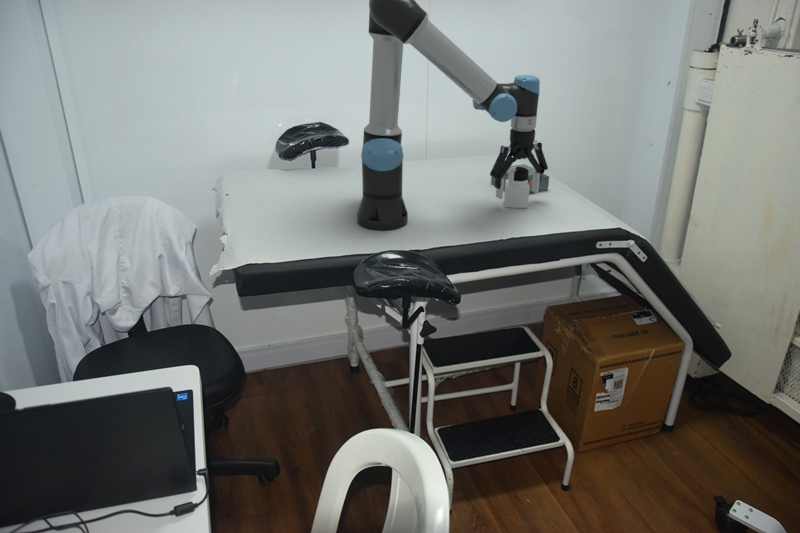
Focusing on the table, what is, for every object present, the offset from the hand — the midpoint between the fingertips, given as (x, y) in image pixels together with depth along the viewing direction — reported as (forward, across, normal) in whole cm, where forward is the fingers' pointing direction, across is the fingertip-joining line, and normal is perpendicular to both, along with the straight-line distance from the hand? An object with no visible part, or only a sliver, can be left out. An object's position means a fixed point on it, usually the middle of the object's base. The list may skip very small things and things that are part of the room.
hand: (517, 194), depth 196 cm
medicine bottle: (+3, 0, 0) cm, 3 cm away
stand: (+3, +11, +14) cm, 18 cm away
